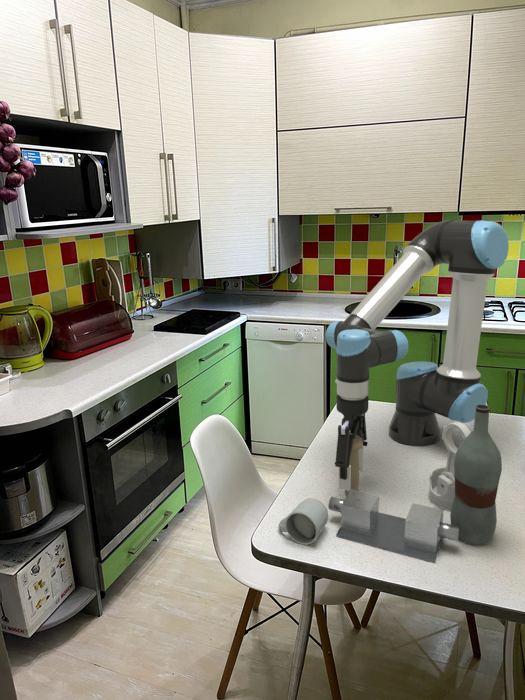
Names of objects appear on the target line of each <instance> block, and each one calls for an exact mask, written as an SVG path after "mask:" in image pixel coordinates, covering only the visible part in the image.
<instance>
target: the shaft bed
mask: <svg viewBox="0 0 525 700" xmlns="http://www.w3.org/2000/svg"><path fill="white" fill-rule="evenodd" d="M379 498H380V495H379V494H374V493H371V492H365V491H362V490H361V491H360V490H358V491H357V490H352V489H351V491H350V492H349V494H348V495H346V497H345V498H339V497H336V496H331V497H330V498H329V501H328V510H329V511H333V512H337V513H340V527H339V529H338V530H337V532H336V535H335V536H336V538H340V539H345V540H347V541H351V542H355V543H360V544H362V545H367V546H369V547H374V548H377V549H382V550H385V551H389V552H391V553H395V554H399V555H404V556H407V557H410V558H411V557H412V558H415V559H419V560H422V561H425V562H430V563H433V564H435V563H436V560H437V558H438V554H439V550H440V547H441V544H442V540H443V539H446V540H450V541H455V542H458V541H459V540H458V539H459V533H460V526H455V525H451V523H446V522H443V521H444V520H443V519H444V509H441V508H438V507H432V506H427V505H424V504H423V505H422V504H418V503H415V502H412V503H411V506H410V508H409V511H408V513H407V516H406V518H404V517H400V516H395V515H392V514H387V513H383V512H379V508H380V507H379V506H380V505H379V503H380V499H379Z"/></svg>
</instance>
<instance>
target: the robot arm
mask: <svg viewBox="0 0 525 700" xmlns="http://www.w3.org/2000/svg"><path fill="white" fill-rule="evenodd" d="M509 245H510V244H509V238H508V234H507V232H506V231H505V229H504V227H503V226H502V225H501V224H499V223H498V222H495V221H487V220H484V219H483V220H454V219H452V220H451V219H448V220H447V219H446V220H442V221H439V222H437V223H435V224H432V225H430V226H428V227H427V228H425V229H424V230H423V231H421V232H420V233H419V234H417V235H416V236H415V237H414V238H413V239H412V240H411V241H410V242H409V243H408V244H407V245H406V246H405V247H404V249H403V250H402V256H401V257H400V258H399V259H398V261H397V262H395V264H394V265H393V266H392V267H391V268H390V269H389V270H388V271H387V272H386V274H385V275H384V276H383V277H382V278H381V279H380V281H378V283H377V284H376V285H375V286H374V287H373V288H372V290H370V291H369V292H368V294H367V295H366V296H365V297H364V298H363V299H362V301H361V302H359V304H358V305H357V306H356V307H355V308H354V309H353V310H352V312H351V313H349V315H348V316H347V317H346V319H344V320H343V321H342V320H336V321H334V322H331V323H330V324H329V325H328V326H327V329H326V332H325V340H326V343H327V345H328V346H329V347H330V348H333V349H334V350H335V353H336V379H335V380H334V383H335V384H336V393H337V396H336V410H337V412H338V413H340V414H341V415H342V416H343V418H342V419H341V424H339V425H338V426H337V444H336V454H335V462H334V466H335V467H336V468H338V489H340V490H344V491H345V490H347V491H350V485H351V465H349V463H350V457H351V451H352V445H353V439H355V438H356V435H358V436H359V437H361V438H362V440H363V447H362V448H361V449H359V472H363V471H364V461H365V460H364V457H365V453H364V451H365V447H368V441H367V439H368V437H367V436H368V435H367V424H366V413H367V412H368V410H369V400H370V399H369V395H370V369H371V368H375V367H378V366H381V365H386V364H391V363H395V362H397V361H400V360H402V359H404V358H405V357H406V356H407V355H408V352H409V341H408V338H407V336H406V335H405V334H404V333H403V331H400V330H397V329H394V330H389V329H388V330H387V331H381V330H376V328H377V327H379V325H380V324H381V323H382V322H383V321H384V319H386V317H387V316H388V315H389V313H391V311H392V310H393V309H394V308H395V307H396V306H397V304H398V303H400V301H401V300H402V299H403V298H404V297H405V296H406V294H408V292H409V291H410V290H411V289H412V287H413V286H414V285H415V284H416V283H417V282H418V281H419V280H420V279H421V277H422V276H423V275H424V274H429V273H431V271H432V270H433V269H434V268H435V267H437V266H440V265H442V264H445V265H448V268H447V272H448V273H449V275H450V276H451V278H452V285H451V294H450V303H449V311H448V320H447V329H446V334H445V335H446V337H445V345H444V346H445V347H444V352H443V353H444V354H443V361H442V365H440V366H438V364H437V363H435V362H431V361H412V362H411V361H410V362H407V363H403V364H401V365H400V366H398V367H397V371H396V372H397V373H396V378H395V379H396V380H395V381H396V384H395V385H396V386H395V410H394V414H393V416H392V418H391V421H390V424H389V425H388V435H389V436H390V438H391V439H393V440H394V441H396V442H397V443H400V444H403V445H407V446H414V447H415V446H418V447H421V446H430V445H433V444H435V443H437V442H438V441H439V440H440V438H441V430H440V426H439V423H438V419H437V416H436V415H439V416H442V417H445V418H447V419H449V420H451V421H455V422H460V423H462V424H466V423H471V422H472V421H475V411H476V408H475V406H476V405H479V404H483V405H487V401H488V399H489V398H488V397H489V392H488V388H487V387H486V386H485V385H484V384H483V383H481V378H482V376H481V375H482V374H481V373H480V371H479V370H478V369H477V363H478V362H477V361H478V356H479V355H478V354H479V347H480V339H481V332H482V324H483V318H484V317H483V316H484V310H485V304H486V295H487V289H488V288H487V287H488V282H489V280H490V279H491V278H492V277H494V276H495V274H496V269H499V268H500V267H502V266H503V265H504V264H505V262H506V261H505V260H506V259H507V257H508V255H509V247H510V246H509ZM350 434H352V435H350Z"/></svg>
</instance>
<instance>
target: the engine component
mask: <svg viewBox="0 0 525 700" xmlns="http://www.w3.org/2000/svg"><path fill="white" fill-rule="evenodd" d="M454 430H456V431H458V432H459V433H460V435H461V436H462V439H463V440H462V441H464V440H465V438H466V437H467V436H468V435H469V434H470V433H471V432H472V431H471V430H470V429H469V427H467V426H466V425H465V423H462V422H458V421H455V422H451V423H447V425H444V426H443V427H442V433H441V434H442V435H441V440H442V441H443V443H444V446H445V448H446V449H447V450H446V451H448V453H447V460H446V465H442V466H438V467H435V468H433V469H432V470H430V473H429V487H428V488H429V489H428V500H429V502H430V503H431V504H432V505H433V506H435V508H437V509H441V510H443V511H449V512H451V509H452V504H453V501H454V497H455V473H454V461H455V456H456V452H457V450H458V447H457V446H456V445H455V443H454V440H453V431H454Z"/></svg>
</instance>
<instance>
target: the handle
mask: <svg viewBox="0 0 525 700" xmlns="http://www.w3.org/2000/svg"><path fill="white" fill-rule="evenodd" d="M350 435H352V434H350ZM362 447H364V446H363V440H362V438H361V437H359V436H358V435H356V438H355V439H353V445H352V451H351V457H350V463H349V465H351V485H350V491H351V489H352V490H357V491H359V486H360V471H359V449H361V448H362ZM350 491H347V490H344V495H346V496H347V495H348V494H349V492H350Z"/></svg>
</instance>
